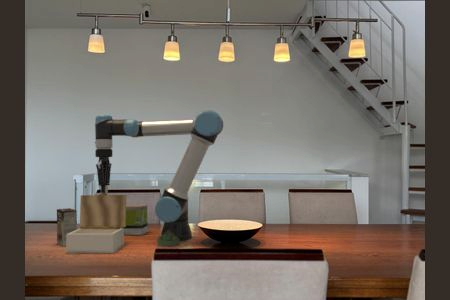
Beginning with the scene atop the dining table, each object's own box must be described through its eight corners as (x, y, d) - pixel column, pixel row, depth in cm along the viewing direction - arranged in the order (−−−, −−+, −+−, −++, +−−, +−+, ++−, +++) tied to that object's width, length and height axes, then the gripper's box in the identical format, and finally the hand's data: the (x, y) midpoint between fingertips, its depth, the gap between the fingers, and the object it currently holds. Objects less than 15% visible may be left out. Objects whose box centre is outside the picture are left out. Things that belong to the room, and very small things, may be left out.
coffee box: (56, 243, 179) (56, 209, 179) (70, 241, 183) (70, 207, 183) (62, 247, 172) (62, 211, 172) (77, 244, 176) (76, 209, 176)
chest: (123, 245, 173) (123, 227, 173) (113, 253, 159) (112, 234, 159) (80, 245, 174) (80, 228, 174) (66, 253, 160) (66, 234, 160)
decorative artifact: (156, 243, 178) (158, 248, 168) (156, 228, 178) (158, 232, 168) (177, 241, 181) (180, 246, 171) (177, 226, 181) (180, 230, 171)
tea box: (148, 231, 204) (147, 204, 205) (142, 235, 194) (141, 206, 195) (120, 231, 206) (120, 204, 206) (113, 235, 196) (113, 206, 196)
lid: (124, 228, 172) (125, 228, 174) (124, 193, 174) (126, 193, 176) (78, 228, 173) (80, 228, 175) (79, 194, 175) (81, 194, 177)
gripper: (101, 149, 184) (101, 198, 184) (90, 148, 171) (90, 201, 171) (116, 148, 184) (117, 198, 183) (106, 148, 171) (106, 201, 170)
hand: (104, 199), depth 177 cm, fingers closed
